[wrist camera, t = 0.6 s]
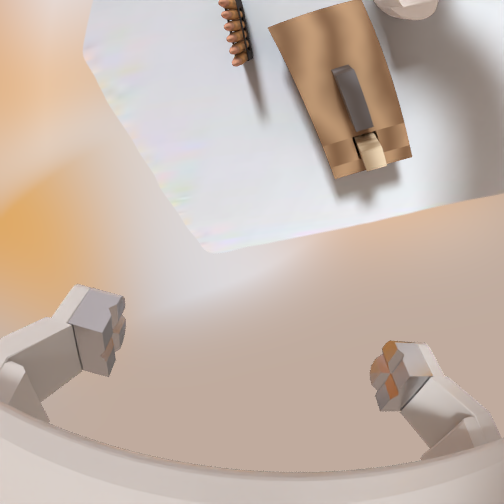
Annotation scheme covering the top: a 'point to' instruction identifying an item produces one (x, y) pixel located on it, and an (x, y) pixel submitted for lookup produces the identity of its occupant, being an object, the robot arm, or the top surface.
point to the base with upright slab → (408, 8)
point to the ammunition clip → (237, 31)
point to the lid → (343, 83)
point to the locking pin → (370, 151)
